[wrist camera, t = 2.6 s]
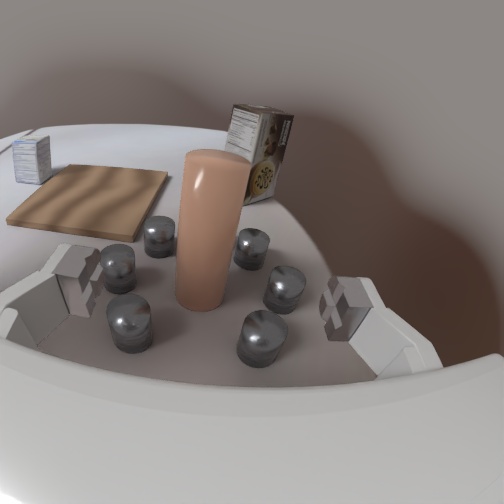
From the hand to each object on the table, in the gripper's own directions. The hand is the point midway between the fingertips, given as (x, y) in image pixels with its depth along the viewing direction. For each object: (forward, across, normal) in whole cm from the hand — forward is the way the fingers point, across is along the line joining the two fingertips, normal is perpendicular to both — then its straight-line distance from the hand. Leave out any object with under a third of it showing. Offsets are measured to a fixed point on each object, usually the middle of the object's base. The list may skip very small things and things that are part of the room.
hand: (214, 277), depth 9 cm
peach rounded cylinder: (+13, +1, +14) cm, 19 cm away
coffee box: (+39, -5, +14) cm, 42 cm away
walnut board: (+31, +21, +14) cm, 40 cm away
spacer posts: (+13, +1, +14) cm, 19 cm away
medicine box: (+36, +38, +13) cm, 54 cm away
